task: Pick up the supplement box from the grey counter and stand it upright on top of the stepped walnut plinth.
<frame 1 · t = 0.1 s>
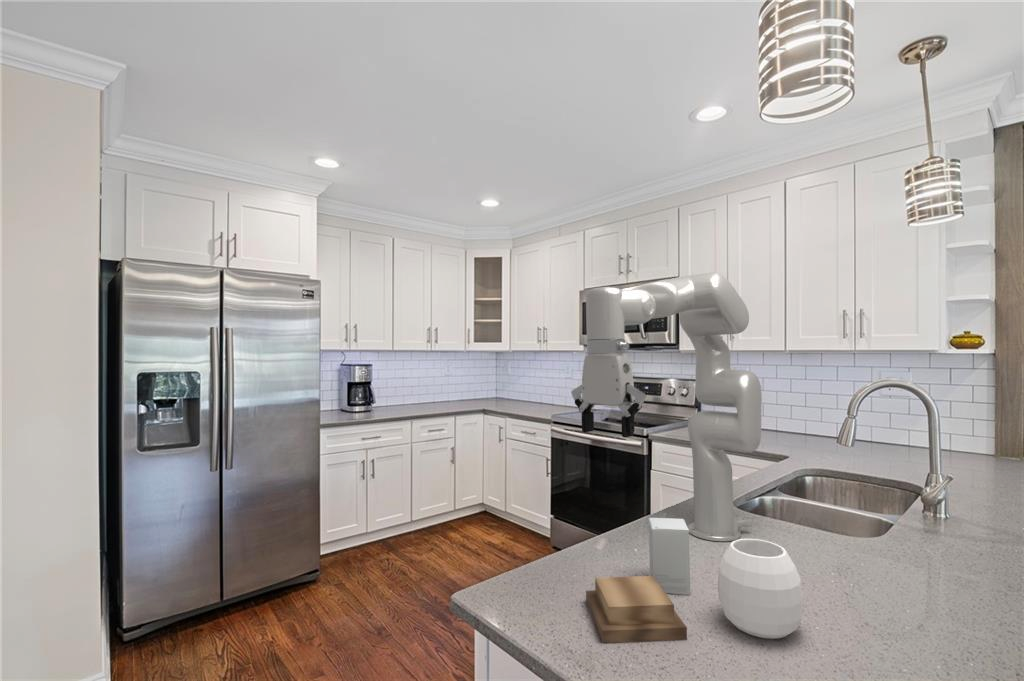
hand: (607, 434, 101), 31 cm above the counter, tool pointing down, fingers open, 9 cm apart
plinth: (632, 618, 90), on the counter
white vase: (760, 627, 87), on the counter
supplement box: (669, 586, 102), on the counter
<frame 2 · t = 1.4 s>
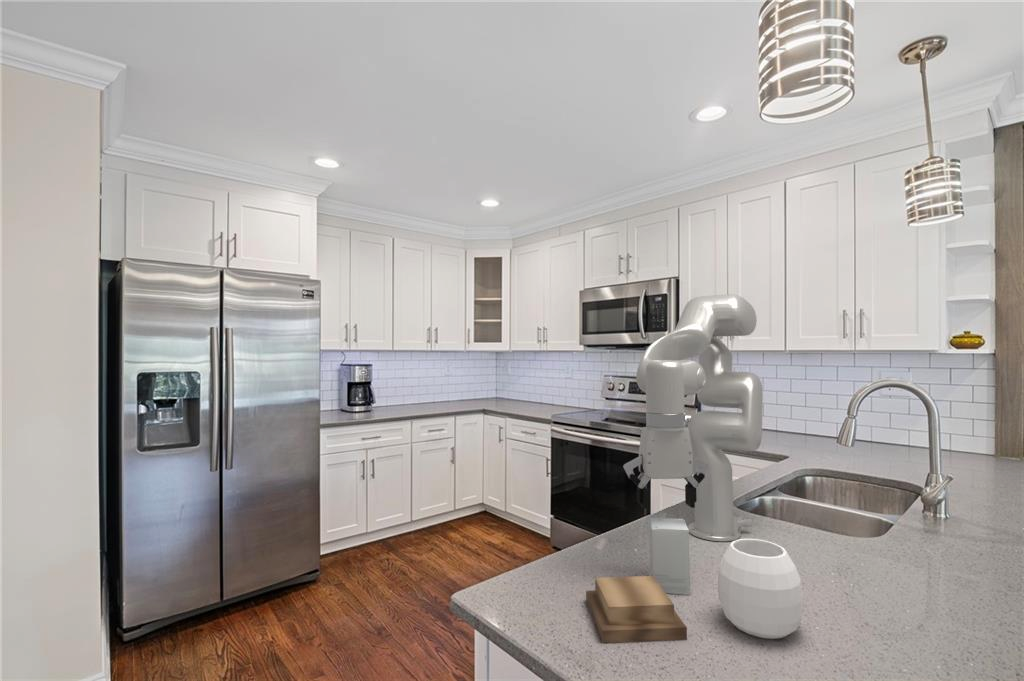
hand: (666, 506, 102), 16 cm above the counter, tool pointing down, fingers open, 9 cm apart
nothing on the counter moved.
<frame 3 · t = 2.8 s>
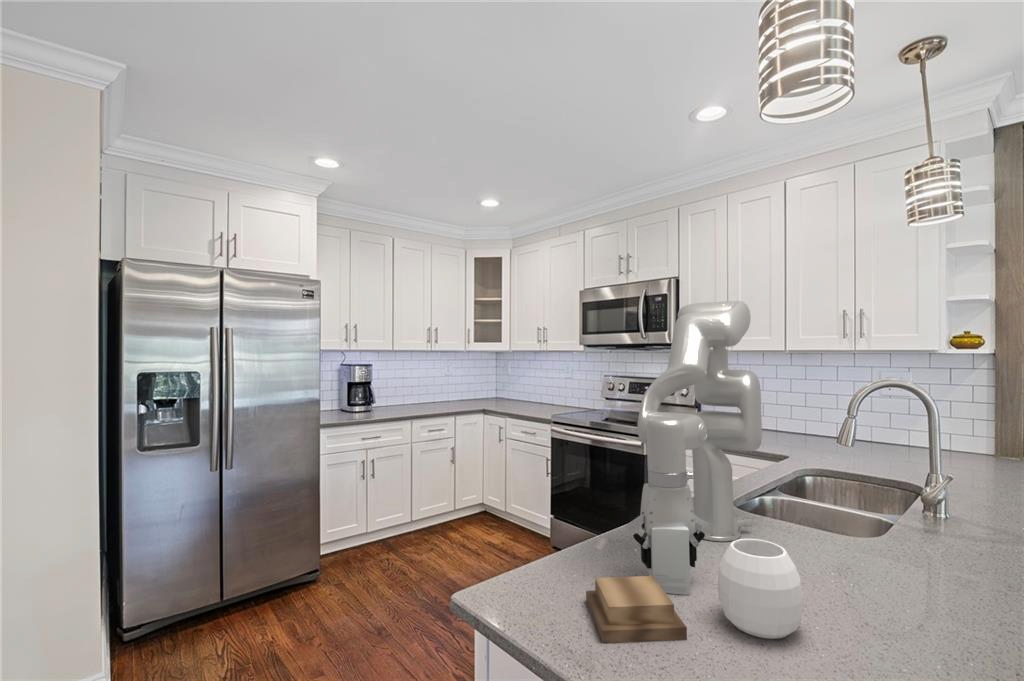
hand: (668, 565, 102), 4 cm above the counter, tool pointing down, fingers closed on supplement box, 8 cm apart
supplement box: (669, 586, 102), on the counter, touching gripper
everything else where it was.
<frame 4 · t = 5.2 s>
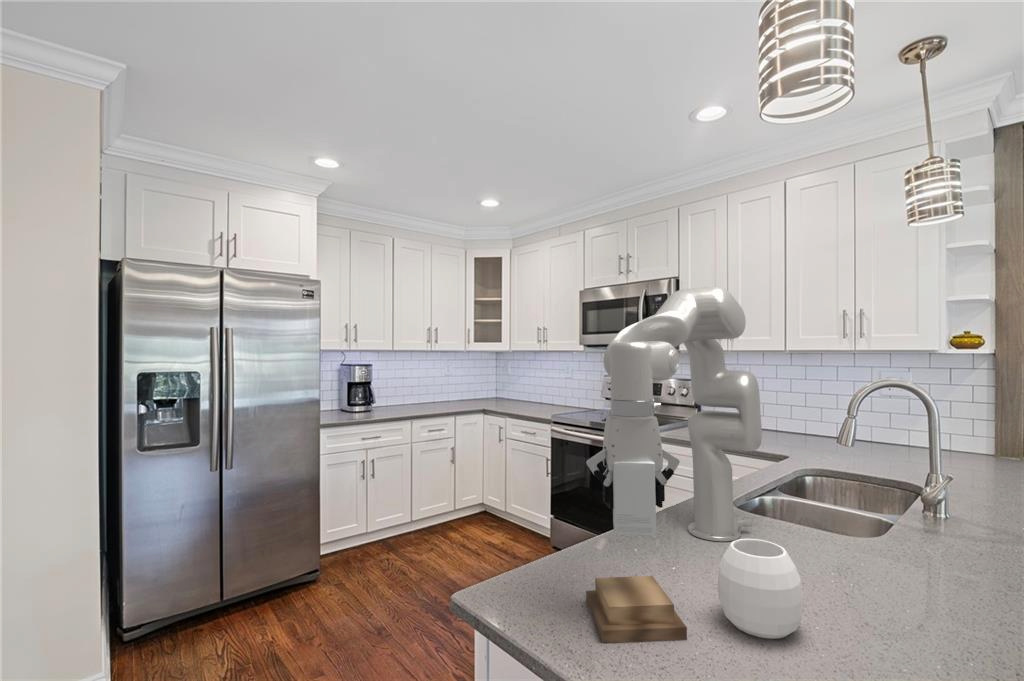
hand: (633, 505, 91), 20 cm above the counter, tool pointing down, fingers closed on supplement box, 8 cm apart
supplement box: (634, 530, 91), point 15 cm above the counter, touching gripper
everything else where it was.
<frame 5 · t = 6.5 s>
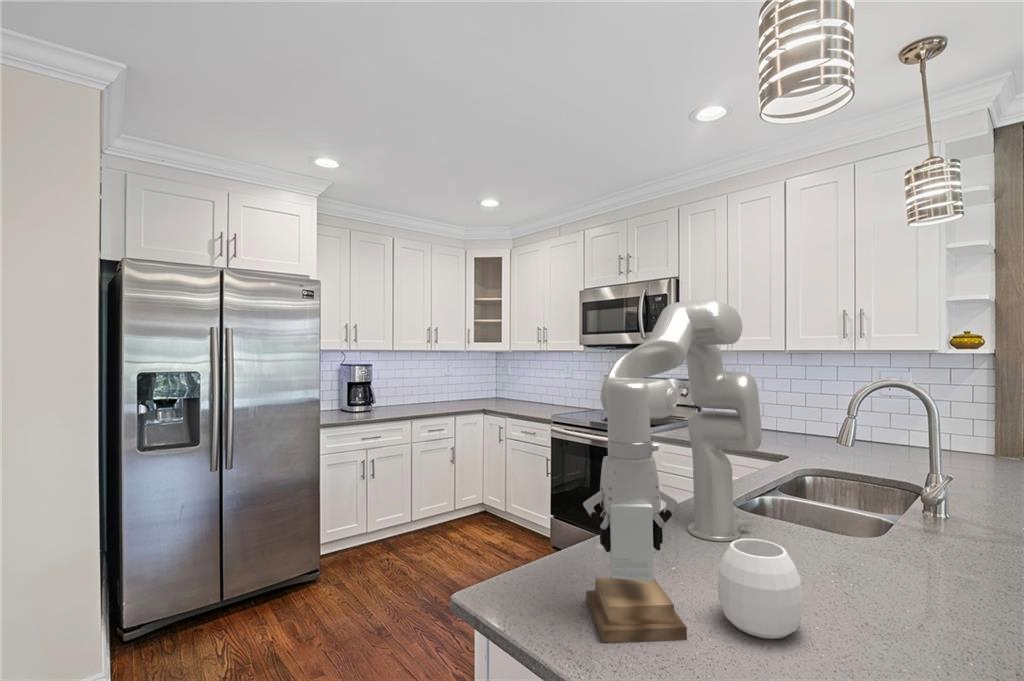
hand: (631, 548, 90), 12 cm above the counter, tool pointing down, fingers closed on supplement box, 8 cm apart
supplement box: (631, 572, 90), point 8 cm above the counter, touching gripper
everything else where it was.
when the fingers open (10 cm above the counter, at t = 7.6 s): supplement box stays where it is, resting on plinth.
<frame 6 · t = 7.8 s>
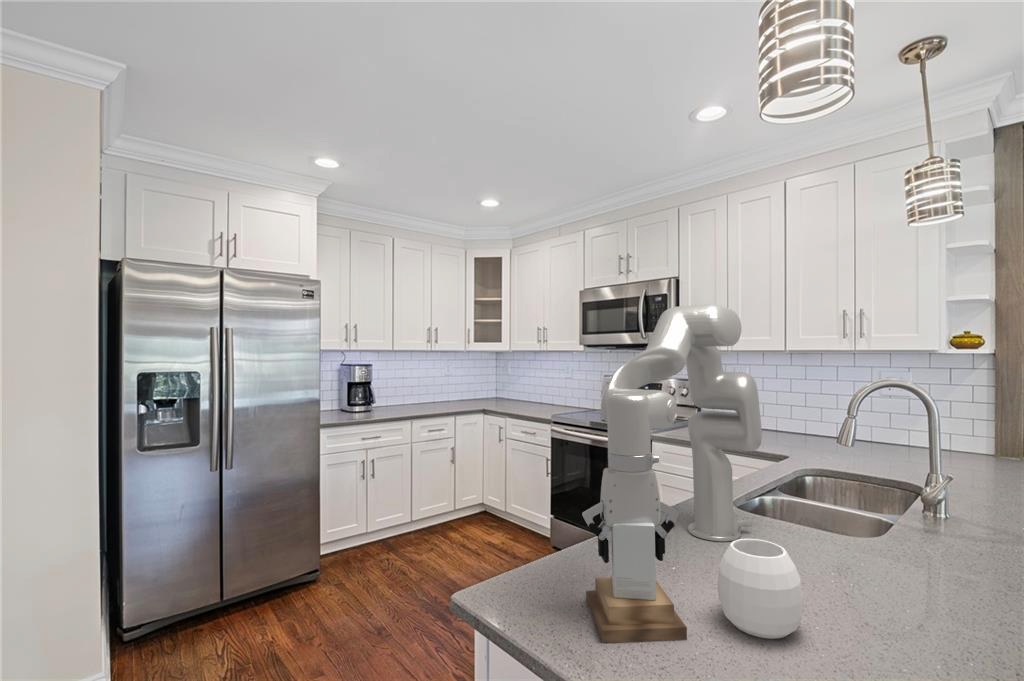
hand: (631, 558, 90), 11 cm above the counter, tool pointing down, fingers open, 9 cm apart
supplement box: (633, 591, 90), point 5 cm above the counter, touching plinth
everything else where it was.
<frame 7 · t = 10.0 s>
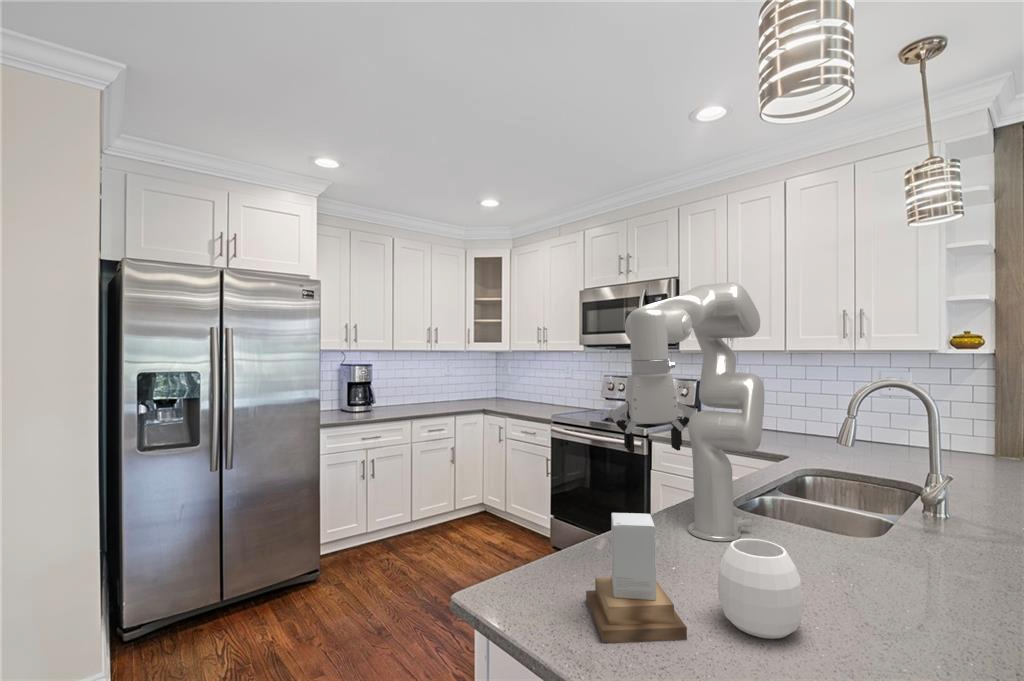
hand: (653, 450, 105), 27 cm above the counter, tool pointing down, fingers open, 9 cm apart
nothing on the counter moved.
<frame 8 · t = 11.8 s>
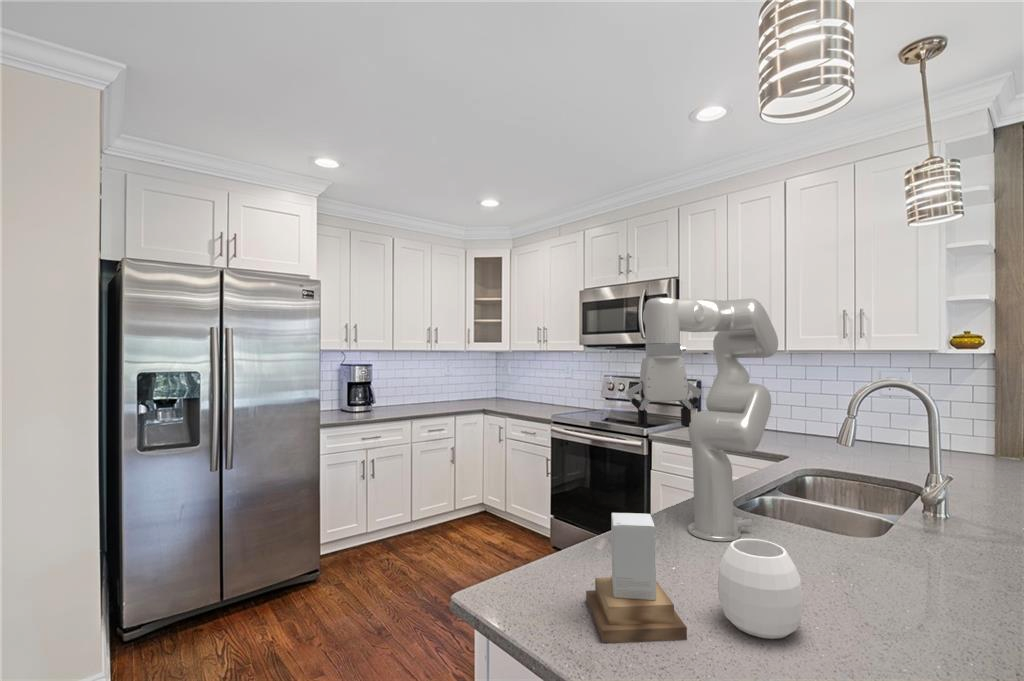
hand: (664, 426, 115), 30 cm above the counter, tool pointing down, fingers open, 9 cm apart
nothing on the counter moved.
at the end: supplement box inside the target area on the plinth (0.4 cm from its centre), point 4.8 cm above the plinth's base; supplement box tilted 0°; the gripper is holding nothing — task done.
